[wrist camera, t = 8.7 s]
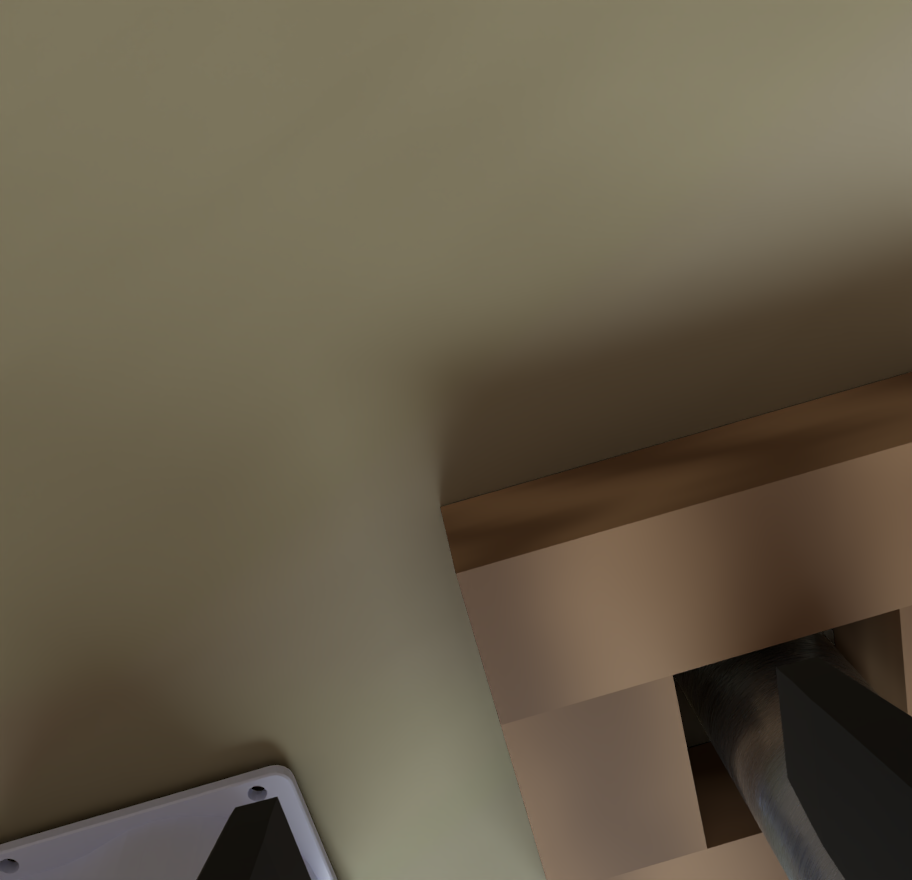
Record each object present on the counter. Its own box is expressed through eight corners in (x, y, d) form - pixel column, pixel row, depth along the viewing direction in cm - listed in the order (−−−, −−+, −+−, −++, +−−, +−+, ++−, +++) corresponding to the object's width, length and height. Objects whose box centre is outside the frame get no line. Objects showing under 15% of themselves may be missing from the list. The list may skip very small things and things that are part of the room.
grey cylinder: (679, 719, 25) (838, 1018, 17) (660, 604, 24) (824, 868, 15) (811, 685, 25) (1036, 966, 17) (800, 568, 24) (1039, 811, 15)
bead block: (555, 896, 27) (583, 1003, 24) (440, 506, 22) (456, 573, 19) (980, 771, 27) (1066, 859, 24) (962, 357, 22) (1069, 397, 19)
